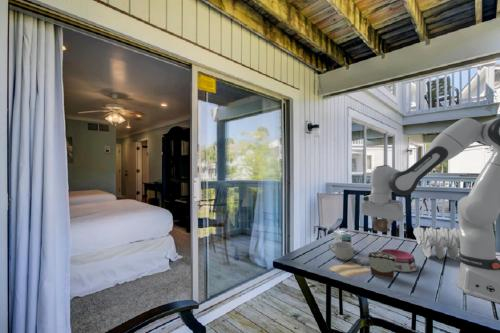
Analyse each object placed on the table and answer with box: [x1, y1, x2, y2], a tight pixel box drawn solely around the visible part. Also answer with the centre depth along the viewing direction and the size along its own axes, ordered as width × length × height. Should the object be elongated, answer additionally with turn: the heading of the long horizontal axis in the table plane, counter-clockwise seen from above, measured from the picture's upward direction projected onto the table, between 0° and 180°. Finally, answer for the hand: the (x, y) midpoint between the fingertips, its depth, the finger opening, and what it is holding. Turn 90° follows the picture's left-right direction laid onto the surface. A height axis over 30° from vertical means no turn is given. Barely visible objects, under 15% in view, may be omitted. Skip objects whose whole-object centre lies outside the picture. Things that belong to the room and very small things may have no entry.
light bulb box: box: [333, 230, 353, 245], centre depth 158 cm, size 11×7×11 cm, turn 9°
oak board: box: [326, 261, 371, 279], centre depth 126 cm, size 14×18×1 cm
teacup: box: [328, 242, 355, 261], centre depth 142 cm, size 14×11×8 cm
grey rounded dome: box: [355, 256, 370, 266], centre depth 135 cm, size 9×9×1 cm
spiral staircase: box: [413, 225, 460, 260], centre depth 139 cm, size 18×18×25 cm
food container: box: [367, 251, 397, 280], centre depth 119 cm, size 12×6×10 cm, turn 58°
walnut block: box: [372, 218, 391, 233], centre depth 119 cm, size 5×5×5 cm
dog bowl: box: [379, 248, 418, 274], centre depth 130 cm, size 18×19×7 cm
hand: (381, 227), depth 119 cm, fingers closed on walnut block, 5 cm apart
